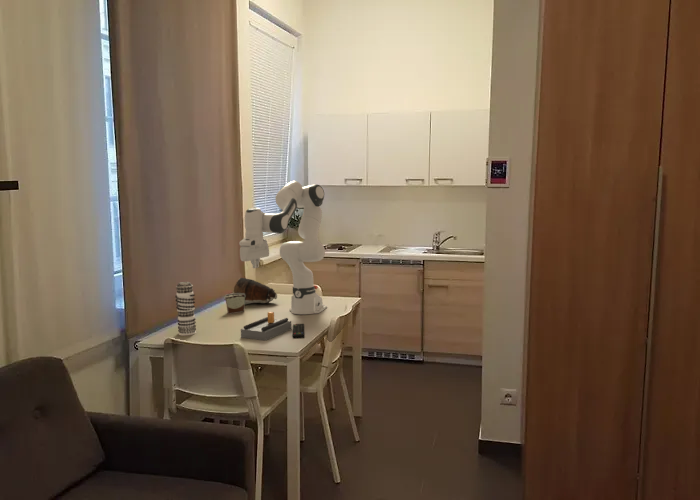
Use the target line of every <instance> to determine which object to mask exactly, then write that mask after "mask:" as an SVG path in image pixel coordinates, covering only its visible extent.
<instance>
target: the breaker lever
mask: <svg viewBox="0 0 700 500" xmlns="http://www.w3.org/2000/svg"><path fill="white" fill-rule="evenodd" d="M267 317H268V323H274V319H275V312H273V311H267Z"/></svg>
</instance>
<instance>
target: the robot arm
mask: <svg viewBox="0 0 700 500" xmlns="http://www.w3.org/2000/svg"><path fill="white" fill-rule="evenodd" d="M324 198H325V191H324V189H323V187H322V186H321V185H320V184H316V183H315V184H311V185H306V186H303V185H302V183H300V182H299V181H296V180H292V181H289V182H288V183H286V184H285V185H283V187H282V188H281V189H280V190H279V191H278V192H277V193H276V195H275V199H274V200H275V204H276V206H277V207H278V208H279V209H280V210H281V212H278V213H265V212H263V211H262V209H261V208H260V207H252V208H251V207H250V208H248V209H247V210H245V212H244V228H245V235H244V238H242V239H241V240H240V241H239V246H240V248H239V258H240V259H239V260H241V262H249V261H250V263H251V265H252V269H257V268H259V267H260V262H261V259H263V258H266V257H269V256H270V248H269V243H268V241H267V239H266V238H264V233H267V234H268V233H271V234H283V233H284V232H286V230H287V228H288V226H289V222H290V221H291V220H292V217H293V216H294V214H295V212H296V211H297V209H298V210H299V209H303V214H302V216H301V218H300V221H299V225H298V229H297V234H298V235H299V237H300V238H302V239H303V240H301V241H299V240H298V241H297V240H296V241H294V240H293V241H292V240H291V241H287V242H286V241H285V242H283V243H282V244H281V245H280V247H279V256H280V258H281V259H282V260H283V261H284V262H286V264H287V265H288V267H289V269H290V271H291V274H292V275H291V276H292V283H293V284H292V285H293V286H292V296H291V302H290V303H291V304H290V305H291V306H290V308H289V312H291V313H292V314H294V315H312V314H320V313H322V312H323V311H324V310H325V309H327V308H328V305H325V304H323V297H322V296H320V295H319V294H318V293H317V291H316V290H317V289H318V288H319V287H318V285H315V284H314V273H313V271H312V270H311V269H310V268H309V267H307V266H306V264H305V263H304V262H306V263H307V262H308V263H310V262H312V263H314V262H319V261H322V260H323V259H324V258H325V255H326V248H325V246H324V245H323V243H321V242H320V240H319V237H318V235H319V231H320V227H321V222H322V218H323V217H322V213H323V212H322V208H321V206H322V205H323V201H324V200H325V199H324Z"/></svg>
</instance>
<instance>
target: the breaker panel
mask: <svg viewBox="0 0 700 500" xmlns="http://www.w3.org/2000/svg"><path fill="white" fill-rule="evenodd" d="M280 320H281V319H275V318H274V323H275V322H278V321H280ZM270 324H273V323H268V320H267V321H265V322H262V323H260V324H257V325H255V326H252V327H250V328H247V329H244V327H243V328H241V329H240V338H241V339H249V338H250V340H258V341H259V340H260V341H268V340H270V339H272V338H275V337H277V336H278V335H281V334H283V333H286V332H288V331H291V330H292V320H288V321H286V322H284V323H281V324H279V325H277V326H274V327H272V328H270V329H267V330H265V331H262V330H261V329H262V328H263V327H265V326H268V325H270Z"/></svg>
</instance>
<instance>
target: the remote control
mask: <svg viewBox="0 0 700 500" xmlns="http://www.w3.org/2000/svg"><path fill="white" fill-rule="evenodd" d="M292 339H305V324H304V323H294V324H293V325H292Z"/></svg>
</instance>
